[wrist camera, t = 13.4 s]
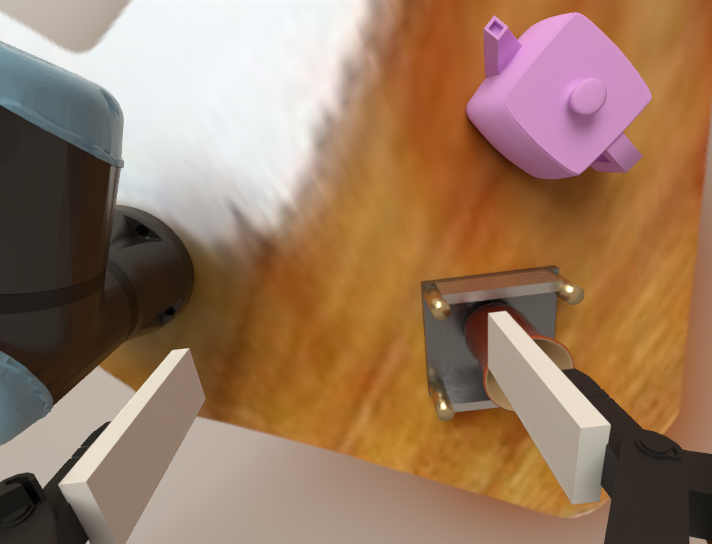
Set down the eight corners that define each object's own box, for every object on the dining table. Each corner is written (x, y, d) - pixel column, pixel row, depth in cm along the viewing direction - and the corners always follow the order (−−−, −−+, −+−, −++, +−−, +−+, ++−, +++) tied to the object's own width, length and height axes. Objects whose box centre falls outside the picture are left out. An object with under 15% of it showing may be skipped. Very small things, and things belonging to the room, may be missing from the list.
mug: (442, 315, 44) (468, 364, 34) (508, 280, 43) (555, 320, 33) (484, 385, 48) (518, 447, 38) (546, 354, 46) (598, 410, 36)
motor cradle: (428, 390, 49) (438, 423, 43) (420, 281, 44) (431, 302, 38) (546, 377, 49) (572, 408, 43) (554, 265, 43) (585, 284, 37)
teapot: (427, 90, 37) (454, 72, 27) (501, -8, 34) (562, -67, 24) (546, 200, 41) (607, 219, 31) (621, 120, 38) (714, 113, 28)
